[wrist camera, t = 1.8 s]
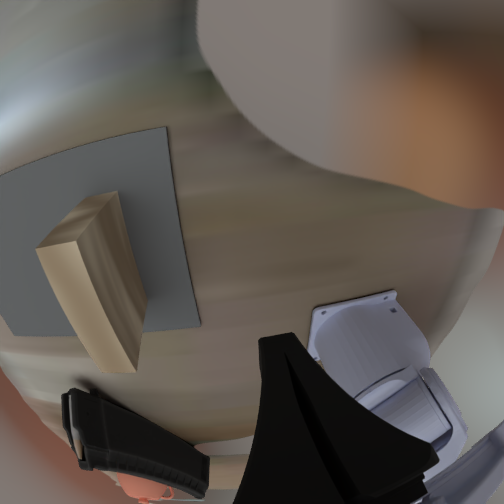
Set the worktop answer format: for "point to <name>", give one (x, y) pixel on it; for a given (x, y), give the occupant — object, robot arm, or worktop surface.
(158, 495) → the sugar bowl
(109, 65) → the worktop surface
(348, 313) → the robot arm
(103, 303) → the tile
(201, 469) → the magazine
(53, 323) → the mat
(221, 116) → the worktop surface
